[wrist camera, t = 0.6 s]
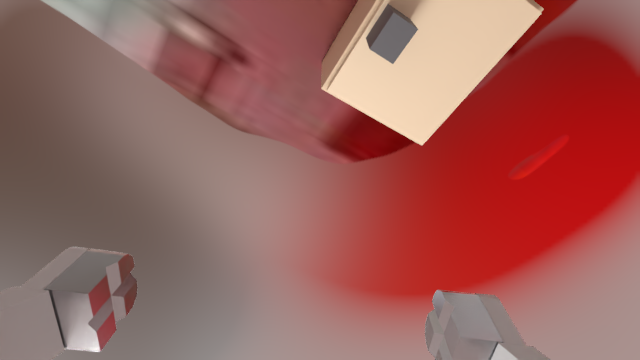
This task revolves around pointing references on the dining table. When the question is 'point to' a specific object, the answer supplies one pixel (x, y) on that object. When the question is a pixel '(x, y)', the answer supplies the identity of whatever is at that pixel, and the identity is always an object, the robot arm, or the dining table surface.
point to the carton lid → (427, 58)
